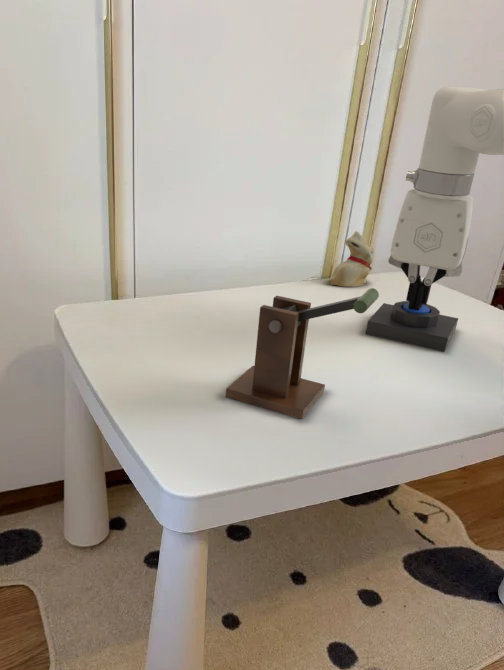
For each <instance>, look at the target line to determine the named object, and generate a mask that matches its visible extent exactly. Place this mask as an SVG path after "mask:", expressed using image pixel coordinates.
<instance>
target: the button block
mask: <svg viewBox="0 0 504 670" xmlns="http://www.w3.org/2000/svg"><path fill="white" fill-rule="evenodd" d="M407 303H410V301H406V300H403V301H397V302H395V303H394V304H389V303H386V302H384V303H382V304H381V305H380V307H379V308H378V309H377V310H376V311H375V313H373V314H372V316H371V317H370V318H369V319H368V320H367V323H366V327H365V335H369V336H373V337H376V338H382V339H387V340H390V341H395V342H399V343H404V344H408V345H412V346H417V347H422V348H426V349H431V350H435V351H440V352H443V353H444V352H446V350H447V348H448V346H449V344H450V342H451V340H452V338H453V337H454V334H455V332H456V330H457V326H458V322H459V318H458V317H454V316H449V315H444V314H441V311H440V310H439V309H438V308H437V307H436V306H433V305H430V304H428V303H427V304H426V305H425V304H423V305H425V306H427V307H428V308H429V309H430V311H429V313H428V314H416V313H411V312H408V311H405V310H403V305H404V304H407Z"/></svg>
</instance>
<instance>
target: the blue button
mask: <svg viewBox="0 0 504 670" xmlns="http://www.w3.org/2000/svg"><path fill="white" fill-rule="evenodd" d="M408 307H409V303H407V304H404V305H403V310H405V311H408V312H411V313H416V314H428V313H429V311H430V309H429V308H428V307H427V306H425V305H422V307H421V308H420V309H419V310H415V309H414V308H412V309H410V308H408Z"/></svg>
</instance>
